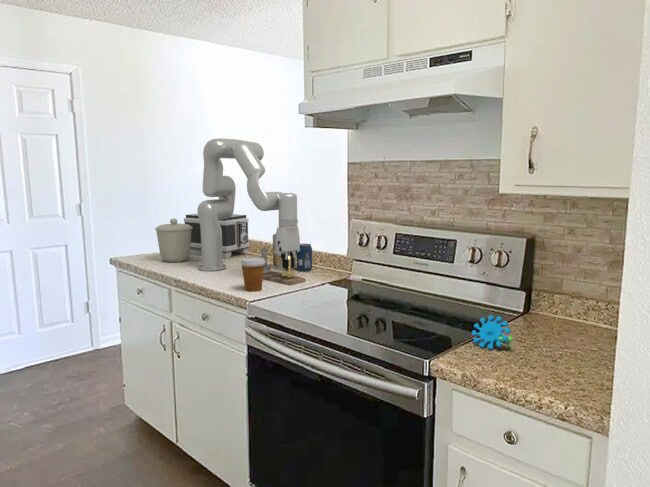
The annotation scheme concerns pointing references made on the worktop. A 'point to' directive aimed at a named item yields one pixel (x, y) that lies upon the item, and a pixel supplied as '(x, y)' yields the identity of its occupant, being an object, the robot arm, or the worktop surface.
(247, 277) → the disposable coffee cup
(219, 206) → the robot arm
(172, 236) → the canister
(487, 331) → the gear
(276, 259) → the coffee box
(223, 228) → the microwave oven
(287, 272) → the sliding leg
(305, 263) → the soda can
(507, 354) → the worktop surface
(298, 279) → the gauge board
